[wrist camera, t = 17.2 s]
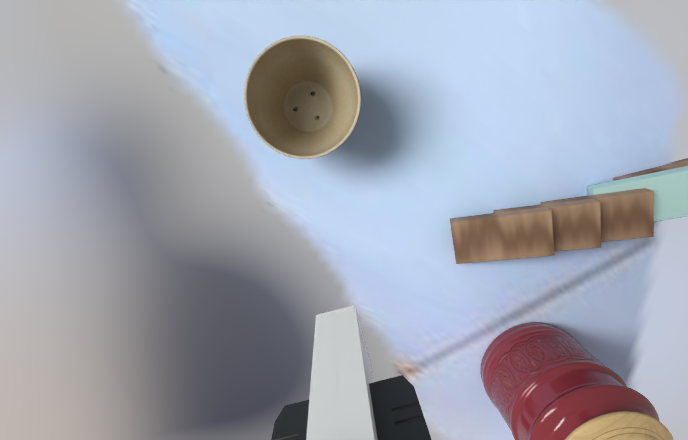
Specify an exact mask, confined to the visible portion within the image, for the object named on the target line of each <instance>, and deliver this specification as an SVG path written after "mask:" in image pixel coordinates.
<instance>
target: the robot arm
mask: <svg viewBox="0 0 688 440" xmlns="http://www.w3.org/2000/svg"><path fill="white" fill-rule="evenodd" d="M272 440H431V437H430V434H429V431H428V428H427V425H426V422H425V419H424V416H423V413H422V410H421V407H420V404H419V401H418V398H417V395H416V392H415V389H414V386H413V385H412V384H411V383H410V382H409V381H408V380H407V379H406V378H405V377H404V376H403V375H402V376H398V377H394V378H390V379H386V380H382V381H378V382H374V376H373V371H372V366H371V362H370V358H369V355H368V351H367V347H366V344H365V340H364V336H363V333H362V329H361V325H360V322H359V318H358V315H357V311H356V307H355V305H353V306H350V307H346V308H342V309H338V310H334V311H330V312H326V313H322V314H318V315H316V324H315V337H314V348H313V362H312V374H311V386H310V398H309V400H306V401H302V402H298V403H294V404H290V405H286V406H284V408H283V410H282V411H281V413H280V414H279V416H278V418H277V419H276V421H275V424H274V429H273V434H272Z"/></svg>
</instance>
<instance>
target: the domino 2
mask: <svg viewBox="0 0 688 440" xmlns="http://www.w3.org/2000/svg"><path fill="white" fill-rule="evenodd" d="M539 207H548V208H549V209H551V210H552V225H553V240H554V251H561V250H573V249H586V248H598V247H601V214H600V202H599V201H597V200H595V199H586V200H577V201H569V202H560V203H552V204H543V205H535V206H526V207H518V208H509V209H501V210H493V212H494V213H500V212H507V211H515V210H523V209H531V208H539Z"/></svg>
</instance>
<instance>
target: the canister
mask: <svg viewBox="0 0 688 440" xmlns="http://www.w3.org/2000/svg"><path fill="white" fill-rule="evenodd" d="M481 377H482V381H483V384H484V388H485V390H486V393H487V395H488V396H489V398H490V400H491V401H492V403H493V404H494V405H495V407H496V408H497V409H498V410H499V412H500V413H501V415H502V417H503V418H504V420H505V421H506V423H507V425H508V426H509V428H510V430H511V431H512V434H513V436H514V439H515V440H673V437H672V435H671V434H670V432H669V431H668V429H667V428H666V427H665V426H664V425H663V424H662V423H661V422H659V418H658V414H657V412H656V410H655V408H654V407H653V405H652V404H651V403H650V401H649V400H648V399H647V398H645V397H644V396H643V395H642V394H640V393H639V392H637V391H635V390H633V389H631V388H628V387H627V386H626V384H625V383H624V381H623V380H622V379H621V378H620V377H619V376H618V375H617V374H616V373H615V372H614V371H612V370H610V369H609V368H607V367H605V366H604V365H603V364H602V363H600V362H599V361H598V360H597V359H596V358H594V357H593V356H592V355H591V354H590V353H588V352H587V351H586V350H585V349H584V348H583V347H582V346H581V345H580V343H579V342H578V341H577V340H575V339H574V338H573V337H572V336H570V335H569V334H568V333H566V332H564V331H562V330H560V329H558V328H556V327H554V326H552V325H549V324H544V323H526V324H521V325H518V326H515V327H512V328H510V329H508V330H507V331H505V332H503V333H502V334H501V335H499V336H498V337H497V338H496V339H495V340H494V341H493V342H492V343H491V344H490V346H489V347H488V349H487V350H486V352H485V354H484V357H483V359H482V364H481Z"/></svg>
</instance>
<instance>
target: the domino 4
mask: <svg viewBox="0 0 688 440" xmlns="http://www.w3.org/2000/svg"><path fill="white" fill-rule="evenodd" d="M684 166H688V158H686V159H682V160H678V161H674V162H671V163H670V164H668V165H664V166H659V167H655V168H651V169H647V170H643V171H639V172H635V173H631V174H627V175H623V176H619V177H615V178H613V181H615V180H620V179H625V178H630V177H635V176H640V175H645V174H650V173H655V172H659V171H664V170H669V169H674V168H679V167H684Z"/></svg>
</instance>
